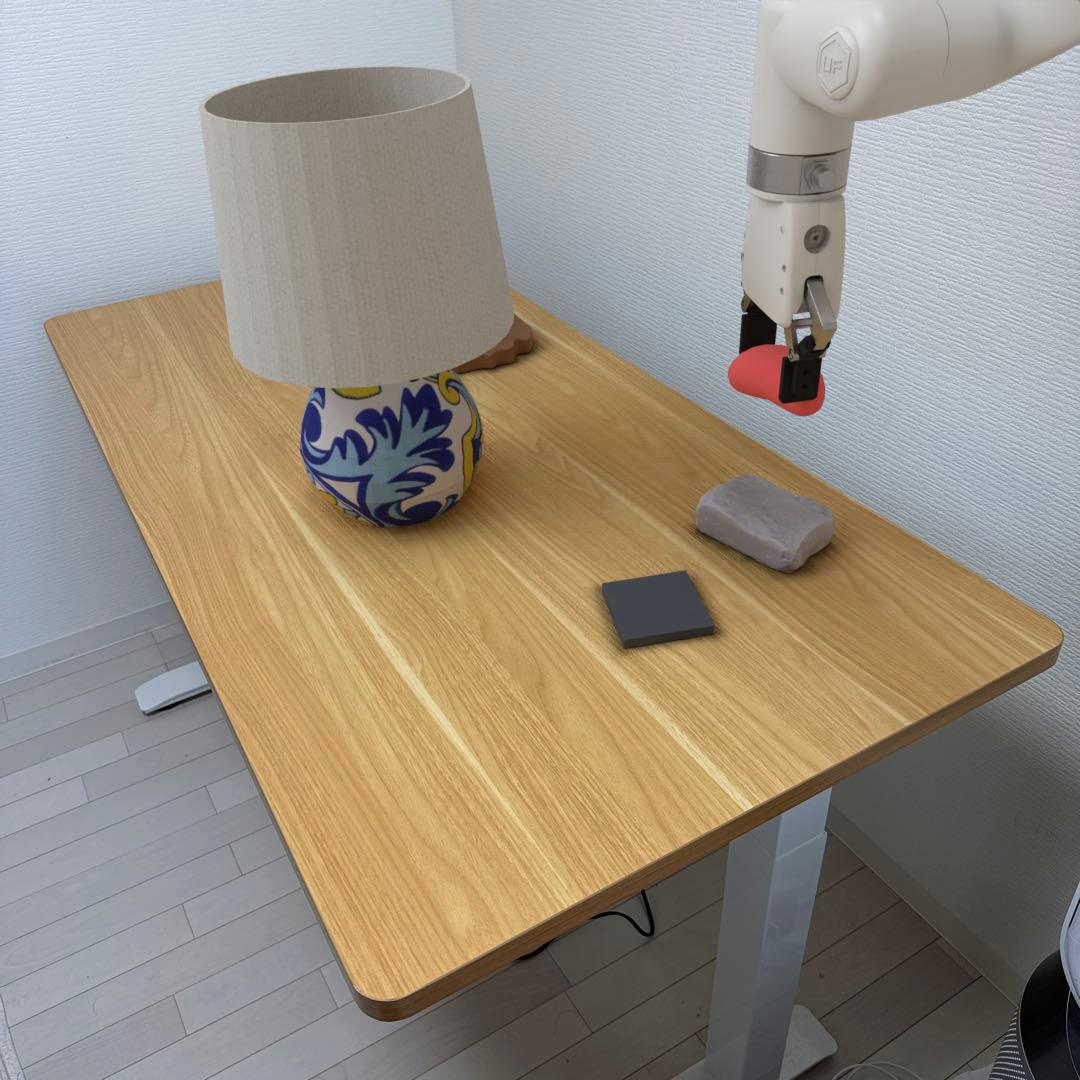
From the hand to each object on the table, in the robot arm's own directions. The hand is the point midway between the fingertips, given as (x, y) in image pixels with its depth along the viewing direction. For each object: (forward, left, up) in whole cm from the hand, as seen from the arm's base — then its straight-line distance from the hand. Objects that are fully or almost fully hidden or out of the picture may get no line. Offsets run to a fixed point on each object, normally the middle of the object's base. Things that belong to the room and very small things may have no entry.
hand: (776, 376), depth 83 cm
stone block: (-1, -1, -18) cm, 18 cm away
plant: (+24, -54, -18) cm, 62 cm away
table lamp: (+34, -18, -18) cm, 42 cm away
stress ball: (0, 0, -3) cm, 3 cm away
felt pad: (+13, +8, -18) cm, 23 cm away
